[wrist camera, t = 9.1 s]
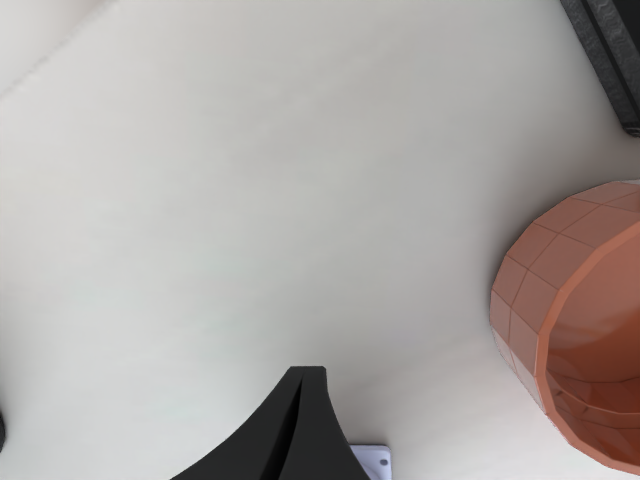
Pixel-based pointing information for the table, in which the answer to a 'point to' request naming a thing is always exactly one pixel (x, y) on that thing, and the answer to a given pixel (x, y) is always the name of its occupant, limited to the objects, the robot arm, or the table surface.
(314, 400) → the robot arm
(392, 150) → the table surface
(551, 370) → the bowl
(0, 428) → the pen holder
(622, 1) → the phone
